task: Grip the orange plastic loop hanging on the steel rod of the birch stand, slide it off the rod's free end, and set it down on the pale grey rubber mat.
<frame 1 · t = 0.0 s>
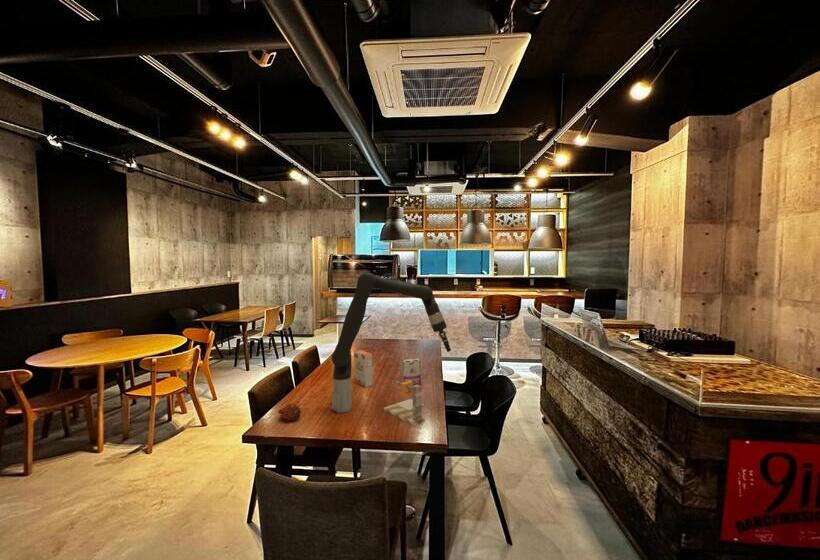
hand: (448, 349, 183), 31 cm above the table, tool tilted 20°, fingers open, 8 cm apart
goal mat: (409, 405, 188), on the table
hook stand: (403, 415, 174), on the table
brown rounded piece: (289, 420, 172), on the table
cracker box: (363, 384, 223), on the table
candy bar box: (411, 385, 220), on the table
loop: (407, 395, 172), point 11 cm above the table, touching hook stand
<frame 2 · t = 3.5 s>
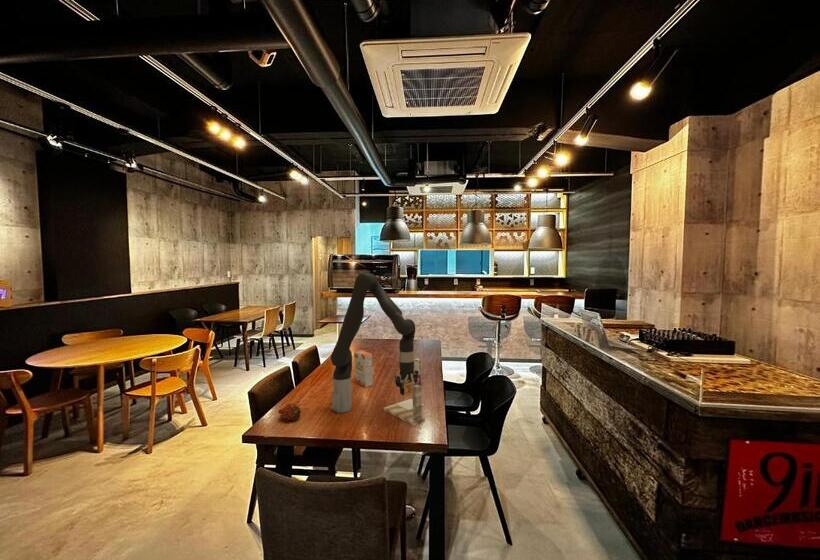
hand: (407, 393, 172), 12 cm above the table, tool pointing down, fingers closed on loop, 5 cm apart
loop: (407, 395, 172), point 11 cm above the table, touching gripper, hook stand
everything else where it was.
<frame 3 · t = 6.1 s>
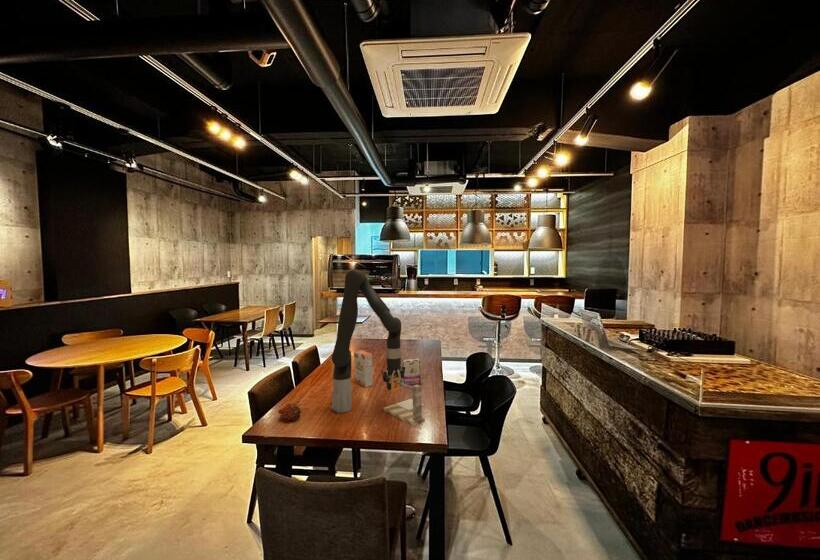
hand: (394, 388, 179), 12 cm above the table, tool pointing down, fingers closed on loop, 5 cm apart
loop: (394, 389, 179), point 12 cm above the table, touching gripper
everything else where it was.
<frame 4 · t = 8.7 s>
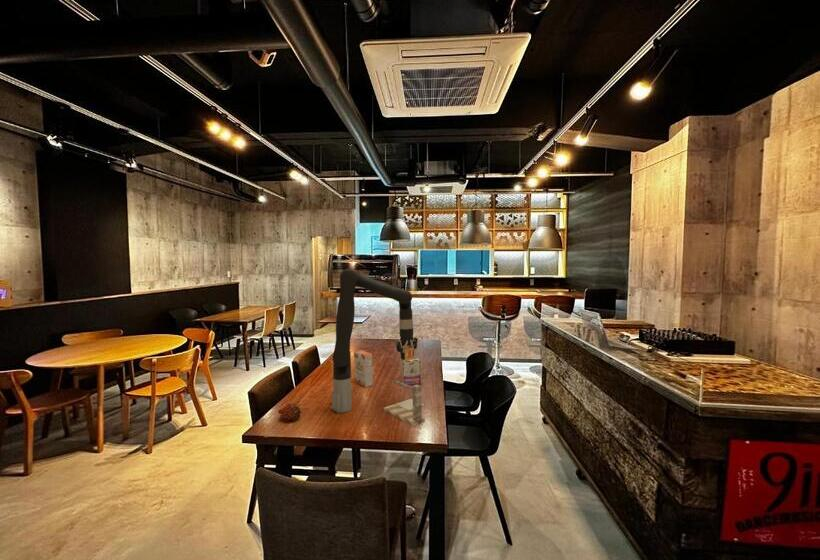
hand: (407, 358, 186), 26 cm above the table, tool pointing down, fingers closed on loop, 5 cm apart
loop: (407, 359, 186), point 25 cm above the table, touching gripper
everything else where it was.
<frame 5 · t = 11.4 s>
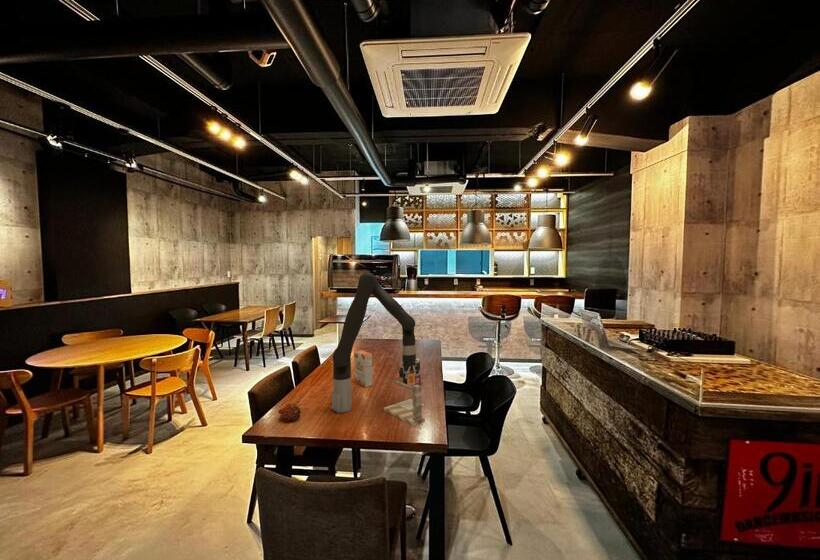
hand: (409, 383, 187), 12 cm above the table, tool pointing down, fingers closed on loop, 5 cm apart
loop: (409, 384, 187), point 11 cm above the table, touching gripper
everything else where it was.
when the fingers open (4 cm above the table, at t = 14.0 s): loop drops 2 cm, resting on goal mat.
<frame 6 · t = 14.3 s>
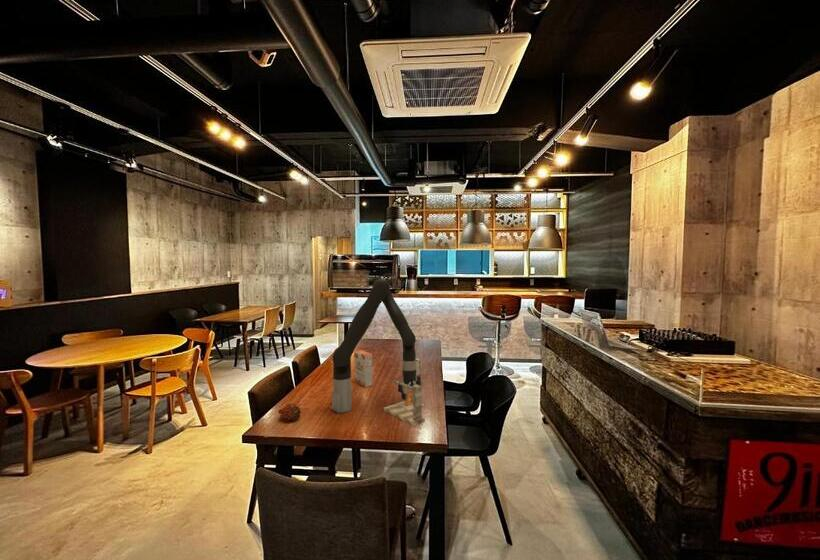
hand: (409, 397, 188), 4 cm above the table, tool pointing down, fingers open, 8 cm apart
loop: (409, 404, 188), point 1 cm above the table, touching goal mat
everything else where it was.
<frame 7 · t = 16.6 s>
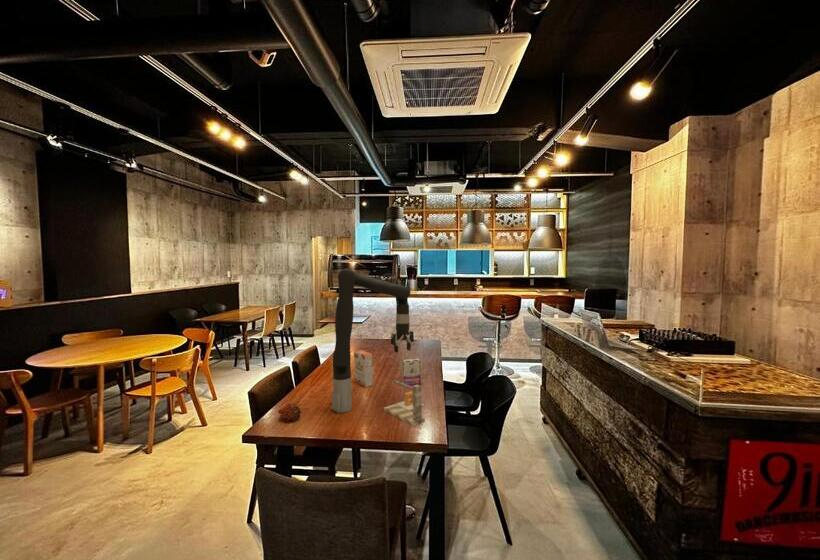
hand: (402, 351, 189), 29 cm above the table, tool pointing down, fingers open, 8 cm apart
nothing on the table moved.
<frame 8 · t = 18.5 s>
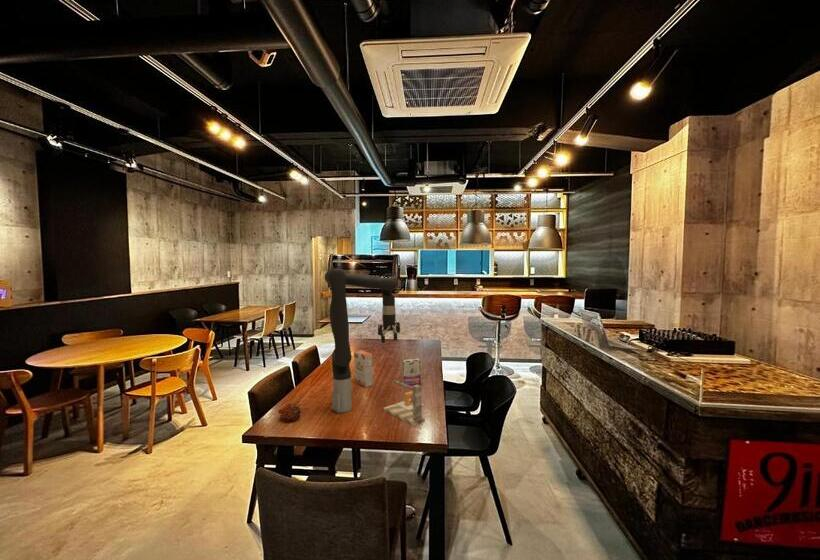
hand: (389, 341, 197), 33 cm above the table, tool pointing down, fingers open, 8 cm apart
nothing on the table moved.
at the end: loop inside the target area on the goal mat (0.2 cm from its centre), point 0.6 cm above the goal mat's base; loop touching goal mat; the gripper is holding nothing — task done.
